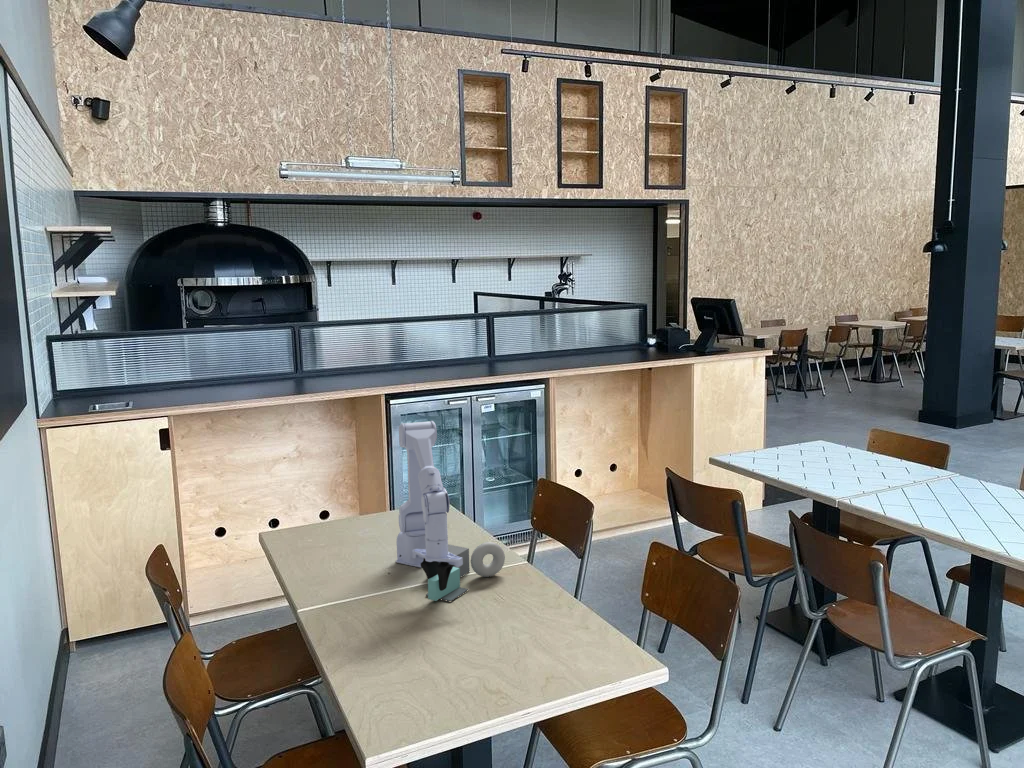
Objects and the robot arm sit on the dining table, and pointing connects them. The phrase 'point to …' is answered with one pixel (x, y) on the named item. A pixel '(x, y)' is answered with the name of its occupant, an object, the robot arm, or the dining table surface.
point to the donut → (496, 562)
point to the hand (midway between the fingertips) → (438, 588)
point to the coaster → (453, 594)
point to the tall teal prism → (452, 584)
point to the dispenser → (461, 553)
